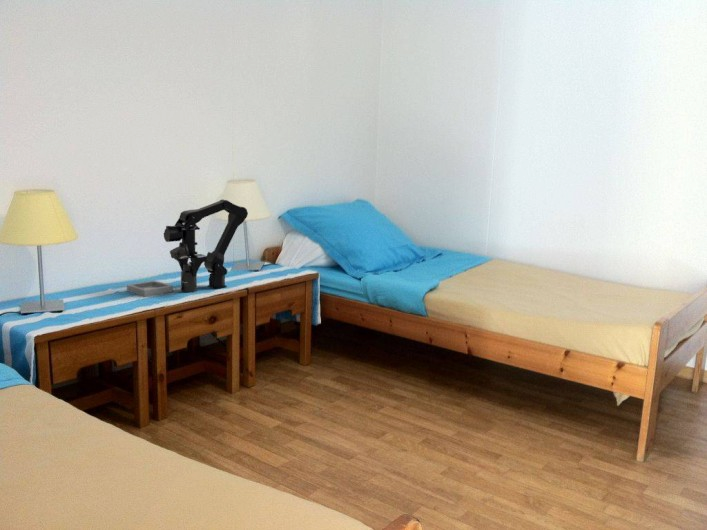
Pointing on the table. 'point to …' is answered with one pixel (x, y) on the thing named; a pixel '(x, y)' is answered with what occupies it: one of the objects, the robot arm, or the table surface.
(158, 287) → the tray
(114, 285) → the table surface
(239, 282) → the table surface
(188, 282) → the supplement bottle
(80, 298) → the table surface
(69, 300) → the table surface
